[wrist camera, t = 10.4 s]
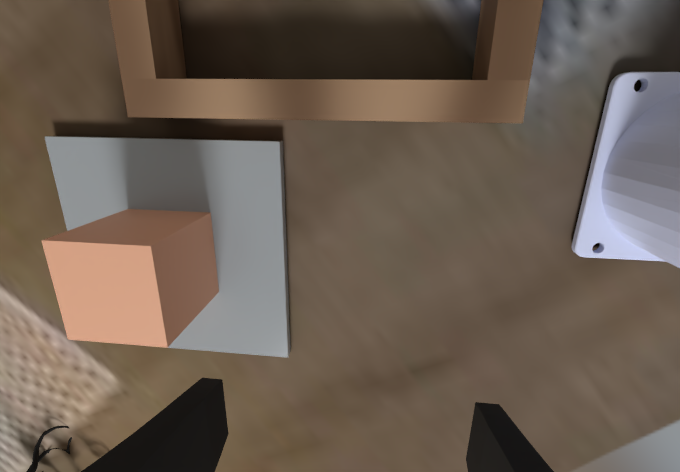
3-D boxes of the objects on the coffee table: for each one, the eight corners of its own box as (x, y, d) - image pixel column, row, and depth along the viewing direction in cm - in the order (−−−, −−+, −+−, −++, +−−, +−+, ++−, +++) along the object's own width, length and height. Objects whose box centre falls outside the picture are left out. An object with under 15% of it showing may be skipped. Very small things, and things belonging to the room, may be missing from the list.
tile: (282, 140, 17) (279, 141, 17) (290, 350, 21) (288, 357, 20) (54, 136, 18) (44, 136, 18) (101, 335, 22) (94, 341, 22)
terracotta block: (210, 212, 18) (150, 246, 13) (219, 291, 20) (167, 347, 15) (127, 208, 19) (41, 240, 14) (141, 286, 20) (68, 339, 15)
